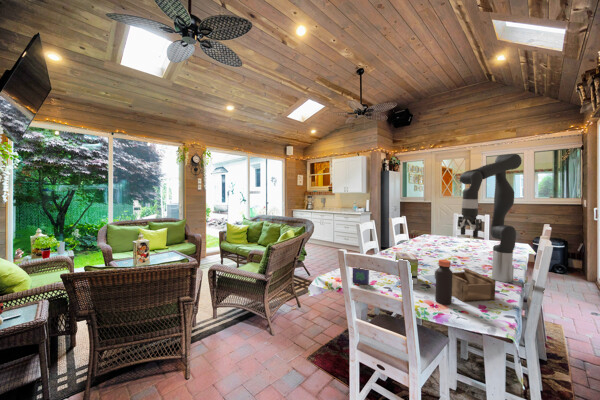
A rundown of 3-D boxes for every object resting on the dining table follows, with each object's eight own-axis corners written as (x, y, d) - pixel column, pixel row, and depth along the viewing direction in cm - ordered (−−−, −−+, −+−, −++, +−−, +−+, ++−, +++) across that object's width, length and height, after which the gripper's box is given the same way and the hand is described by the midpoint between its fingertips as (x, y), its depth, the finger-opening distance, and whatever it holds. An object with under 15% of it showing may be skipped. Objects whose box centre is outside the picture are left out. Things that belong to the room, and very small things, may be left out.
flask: (369, 283, 141) (369, 265, 140) (368, 285, 138) (368, 266, 138) (352, 281, 144) (353, 263, 144) (351, 283, 142) (352, 264, 141)
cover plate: (421, 277, 154) (421, 268, 154) (441, 276, 156) (442, 267, 156) (436, 285, 140) (436, 276, 140) (458, 284, 142) (458, 275, 142)
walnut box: (437, 287, 137) (438, 269, 136) (465, 286, 139) (466, 268, 138) (462, 301, 119) (463, 281, 119) (494, 300, 121) (495, 280, 121)
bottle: (442, 298, 123) (443, 258, 122) (454, 304, 117) (456, 262, 116) (431, 299, 121) (433, 259, 120) (444, 306, 115) (445, 263, 114)
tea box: (417, 284, 140) (418, 259, 139) (399, 283, 142) (399, 258, 141) (411, 275, 155) (412, 252, 154) (394, 274, 157) (395, 251, 156)
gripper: (487, 208, 131) (485, 238, 132) (466, 206, 146) (465, 233, 146) (474, 208, 131) (473, 238, 131) (454, 206, 145) (453, 233, 145)
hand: (468, 236), depth 139 cm, fingers open, 8 cm apart
